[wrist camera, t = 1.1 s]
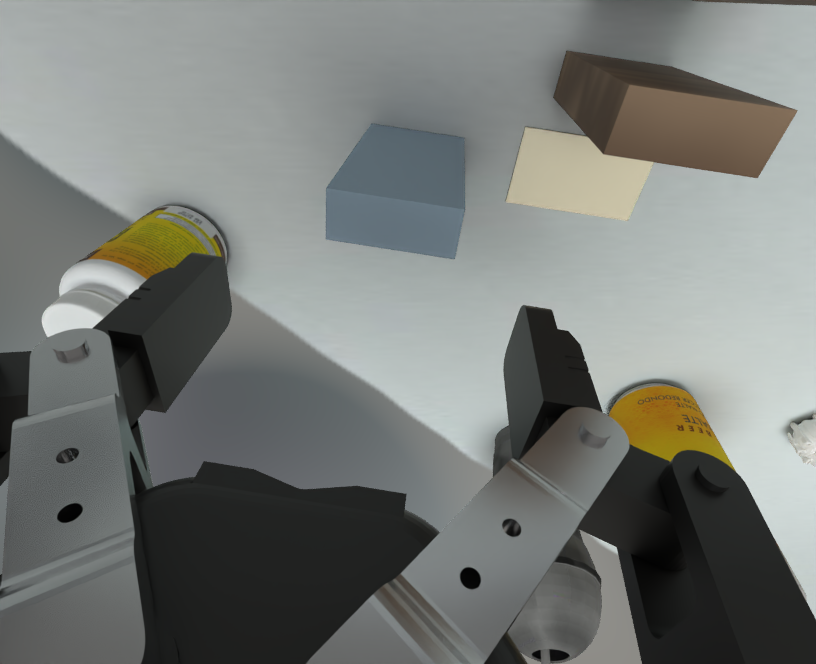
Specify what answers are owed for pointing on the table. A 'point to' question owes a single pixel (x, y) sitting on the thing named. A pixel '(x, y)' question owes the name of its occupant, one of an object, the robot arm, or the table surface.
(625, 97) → the domino
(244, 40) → the table surface
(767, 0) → the domino
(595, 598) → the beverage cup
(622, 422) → the beer can
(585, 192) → the plate
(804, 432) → the game pieces
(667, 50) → the table surface
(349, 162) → the domino
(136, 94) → the table surface
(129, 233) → the supplement bottle
